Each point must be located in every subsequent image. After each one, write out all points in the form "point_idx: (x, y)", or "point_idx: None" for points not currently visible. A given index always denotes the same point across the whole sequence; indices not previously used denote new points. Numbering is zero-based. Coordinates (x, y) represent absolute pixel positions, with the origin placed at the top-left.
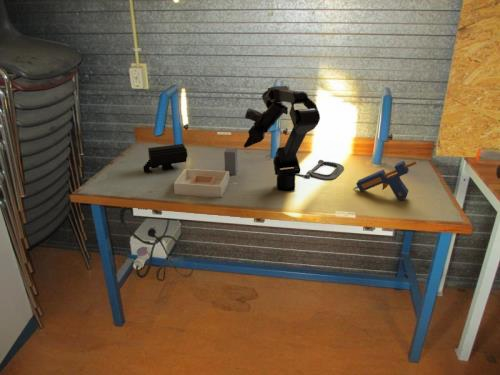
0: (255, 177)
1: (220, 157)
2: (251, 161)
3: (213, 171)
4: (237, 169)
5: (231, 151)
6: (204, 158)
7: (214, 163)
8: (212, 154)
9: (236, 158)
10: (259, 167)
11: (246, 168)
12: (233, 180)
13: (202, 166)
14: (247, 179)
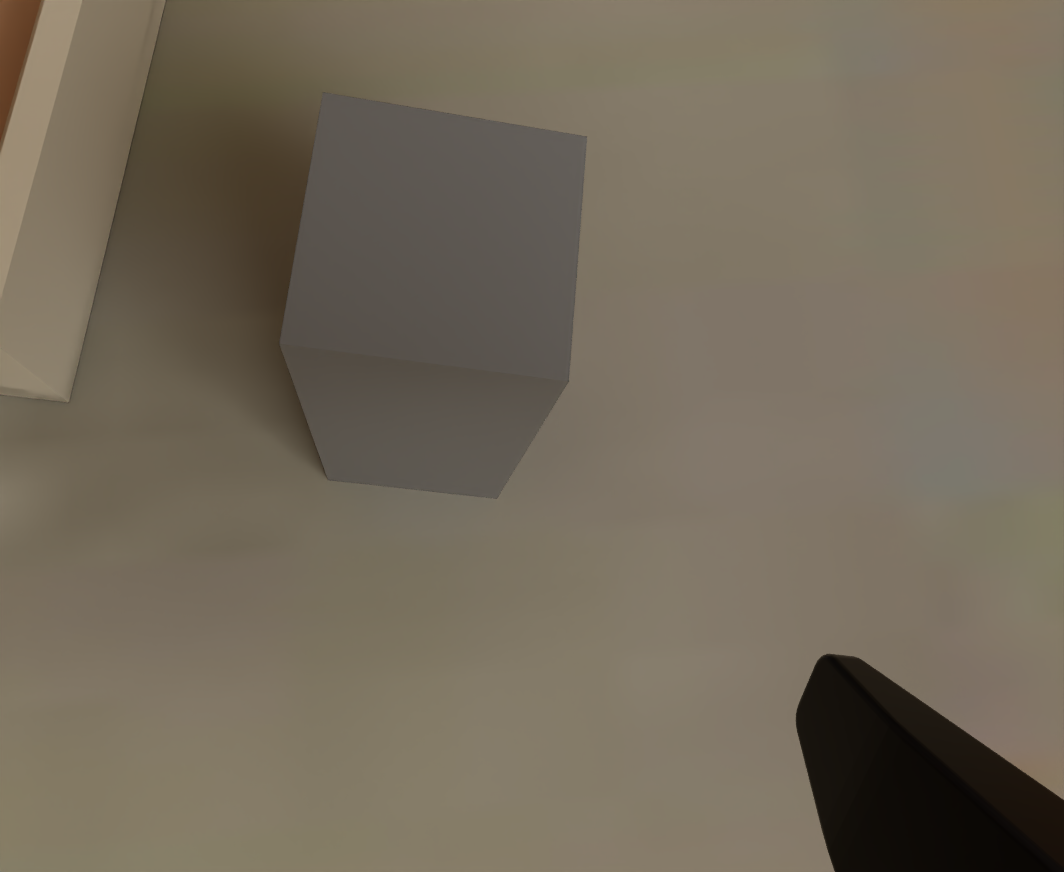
0: (226, 824)
1: (949, 223)
2: None
3: (20, 84)
4: (484, 491)
5: (355, 251)
6: (877, 32)
7: (732, 159)
8: (1027, 119)
9: (427, 425)
10: (659, 858)
11: (598, 632)
12: (115, 461)
13: (613, 22)
14: (144, 687)
